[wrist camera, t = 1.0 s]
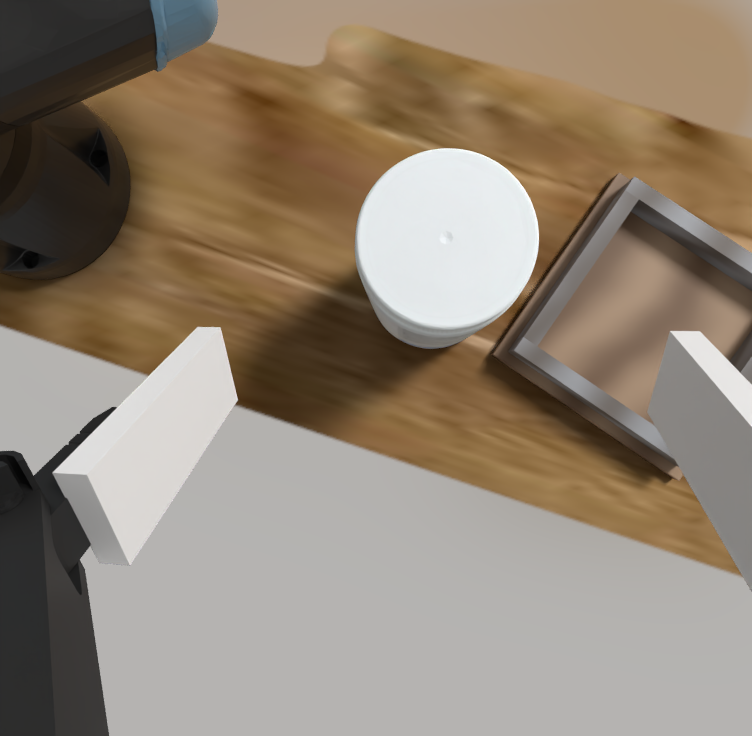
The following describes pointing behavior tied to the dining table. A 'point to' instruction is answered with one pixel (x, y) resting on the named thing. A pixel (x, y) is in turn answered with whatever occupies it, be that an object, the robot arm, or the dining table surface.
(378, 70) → the dining table surface
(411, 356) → the dining table surface
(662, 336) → the dock
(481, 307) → the supplement tub
